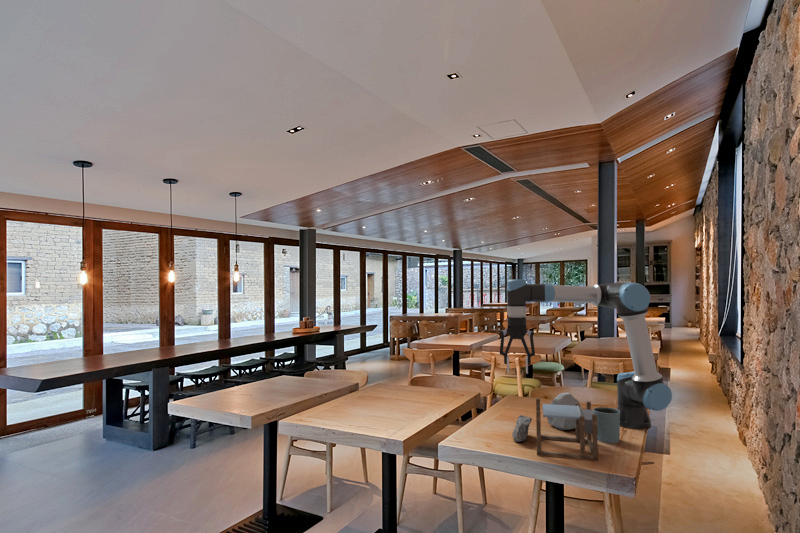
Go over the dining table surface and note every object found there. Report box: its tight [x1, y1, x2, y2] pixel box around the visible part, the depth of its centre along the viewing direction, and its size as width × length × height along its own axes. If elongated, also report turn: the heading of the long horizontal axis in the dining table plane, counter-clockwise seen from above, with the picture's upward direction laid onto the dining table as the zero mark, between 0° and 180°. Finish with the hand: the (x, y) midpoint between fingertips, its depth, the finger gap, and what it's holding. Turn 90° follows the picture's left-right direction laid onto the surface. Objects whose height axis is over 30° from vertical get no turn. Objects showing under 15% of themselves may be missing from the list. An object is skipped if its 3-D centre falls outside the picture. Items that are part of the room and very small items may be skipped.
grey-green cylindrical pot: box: [592, 406, 621, 444], centre depth 193 cm, size 10×10×12 cm
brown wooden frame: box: [535, 397, 599, 461], centre depth 184 cm, size 21×21×16 cm
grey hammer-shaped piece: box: [542, 403, 598, 435], centre depth 183 cm, size 19×17×6 cm
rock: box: [511, 414, 533, 443], centre depth 195 cm, size 16×8×10 cm, turn 151°
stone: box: [546, 392, 583, 431], centre depth 210 cm, size 12×12×15 cm
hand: (517, 372), depth 196 cm, fingers open, 7 cm apart
